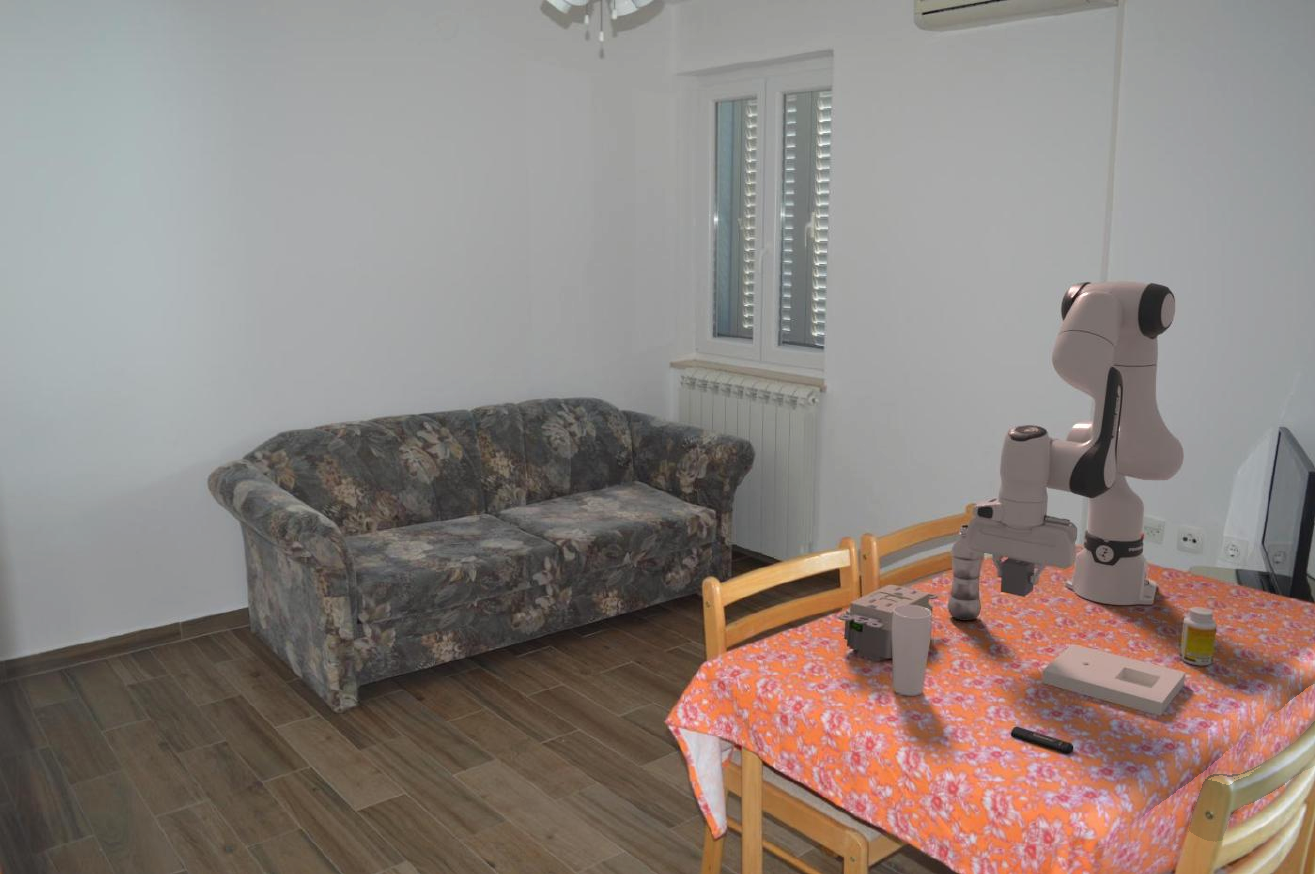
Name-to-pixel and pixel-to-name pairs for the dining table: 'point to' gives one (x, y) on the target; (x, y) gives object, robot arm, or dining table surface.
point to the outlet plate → (1115, 679)
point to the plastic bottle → (965, 579)
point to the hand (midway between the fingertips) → (1017, 580)
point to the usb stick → (1042, 740)
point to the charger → (1016, 577)
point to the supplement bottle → (1198, 637)
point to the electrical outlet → (878, 619)
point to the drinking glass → (910, 648)
